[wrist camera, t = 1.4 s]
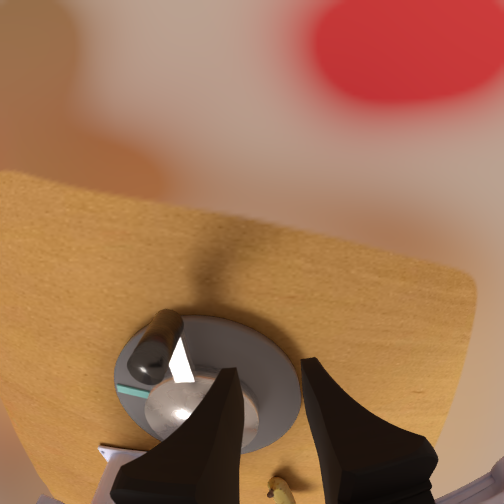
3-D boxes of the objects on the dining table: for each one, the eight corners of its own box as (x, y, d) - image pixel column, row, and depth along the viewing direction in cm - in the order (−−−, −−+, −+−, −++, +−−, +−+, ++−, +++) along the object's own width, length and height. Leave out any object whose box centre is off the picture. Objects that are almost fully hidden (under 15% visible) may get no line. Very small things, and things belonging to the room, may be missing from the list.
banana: (299, 497, 30) (301, 520, 26) (281, 501, 30) (283, 523, 26) (279, 466, 27) (281, 494, 23) (259, 469, 27) (259, 497, 23)
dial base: (303, 440, 25) (304, 450, 24) (152, 445, 26) (149, 454, 25) (291, 302, 21) (294, 311, 20) (93, 321, 22) (86, 329, 21)
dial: (264, 435, 23) (266, 493, 17) (169, 438, 24) (155, 491, 17) (237, 291, 19) (229, 349, 13) (113, 304, 20) (69, 353, 13)
